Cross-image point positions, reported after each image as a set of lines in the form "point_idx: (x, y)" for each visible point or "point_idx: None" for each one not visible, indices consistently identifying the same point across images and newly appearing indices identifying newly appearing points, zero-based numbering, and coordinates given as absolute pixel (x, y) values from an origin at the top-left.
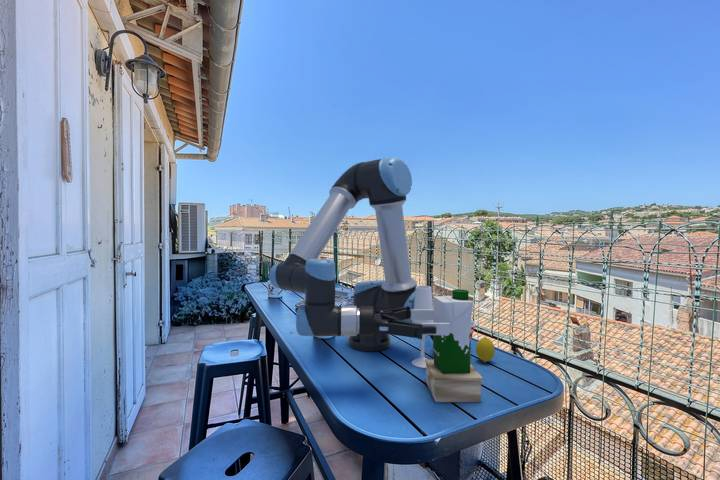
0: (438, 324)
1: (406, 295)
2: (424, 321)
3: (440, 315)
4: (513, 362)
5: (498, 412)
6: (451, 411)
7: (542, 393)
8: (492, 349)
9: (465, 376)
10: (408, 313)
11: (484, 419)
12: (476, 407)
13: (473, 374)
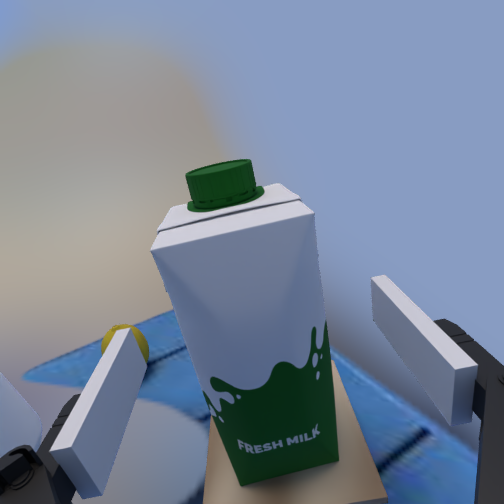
0: (413, 304)
1: None
2: (19, 441)
3: (298, 288)
4: (152, 331)
5: (370, 382)
6: (421, 491)
7: None
8: (143, 335)
9: (336, 395)
10: (56, 491)
11: (418, 411)
12: (366, 420)
13: None
